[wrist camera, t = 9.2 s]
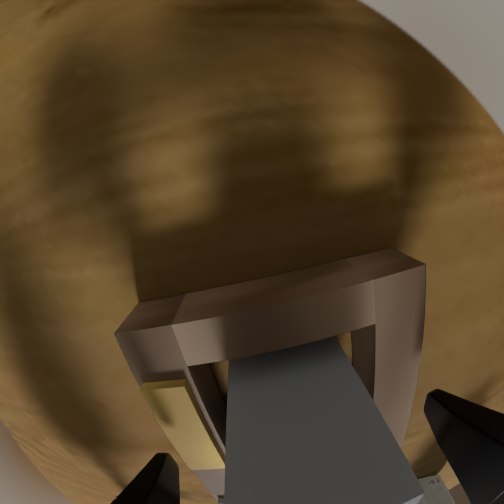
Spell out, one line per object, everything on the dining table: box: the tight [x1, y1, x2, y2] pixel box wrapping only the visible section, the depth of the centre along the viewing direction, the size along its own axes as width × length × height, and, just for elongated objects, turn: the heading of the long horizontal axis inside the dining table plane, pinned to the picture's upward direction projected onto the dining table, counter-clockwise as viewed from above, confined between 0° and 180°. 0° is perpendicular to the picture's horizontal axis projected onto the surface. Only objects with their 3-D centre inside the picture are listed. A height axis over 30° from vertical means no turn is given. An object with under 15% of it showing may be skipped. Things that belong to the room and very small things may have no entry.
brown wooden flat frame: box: [114, 248, 426, 504], centre depth 11 cm, size 10×18×3 cm, turn 12°
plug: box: [224, 336, 425, 504], centre depth 7 cm, size 4×4×9 cm
